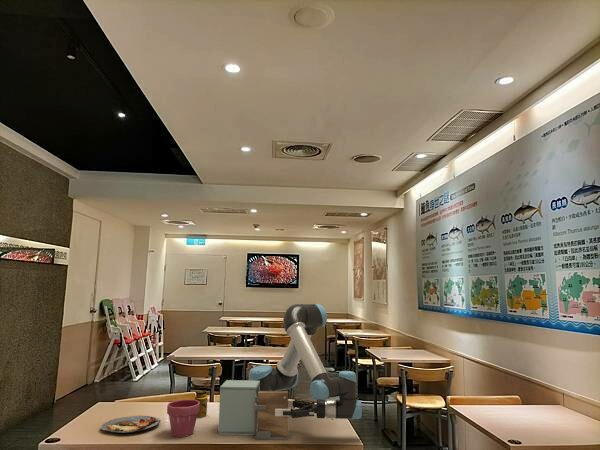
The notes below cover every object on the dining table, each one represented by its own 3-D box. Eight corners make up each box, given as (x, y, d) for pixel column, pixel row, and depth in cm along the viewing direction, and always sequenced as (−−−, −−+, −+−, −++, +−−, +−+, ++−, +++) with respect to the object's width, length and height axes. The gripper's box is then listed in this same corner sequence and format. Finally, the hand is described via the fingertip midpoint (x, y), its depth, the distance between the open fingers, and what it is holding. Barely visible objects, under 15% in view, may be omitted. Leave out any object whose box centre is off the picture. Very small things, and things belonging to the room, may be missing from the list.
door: (258, 434, 182) (259, 390, 185) (287, 434, 182) (288, 391, 185) (256, 437, 178) (257, 393, 181) (287, 438, 178) (287, 393, 180)
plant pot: (162, 431, 187) (164, 401, 189) (193, 426, 193) (195, 397, 195) (169, 441, 174) (171, 409, 176) (202, 436, 181) (204, 404, 183)
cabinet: (225, 424, 197) (226, 380, 200) (290, 425, 196) (291, 381, 199) (215, 438, 178) (217, 389, 181) (287, 440, 177) (288, 390, 180)
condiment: (209, 417, 209) (210, 391, 211) (192, 419, 204) (194, 393, 206) (204, 413, 215) (205, 389, 217) (188, 416, 210) (189, 390, 212)
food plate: (169, 422, 198) (170, 414, 199) (136, 439, 177) (136, 430, 177) (127, 418, 206) (127, 411, 207) (89, 434, 185) (90, 425, 185)
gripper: (326, 427, 168) (273, 426, 169) (325, 410, 193) (279, 409, 194) (326, 407, 169) (273, 406, 170) (325, 393, 194) (279, 392, 195)
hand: (276, 408), depth 182 cm, fingers open, 13 cm apart
